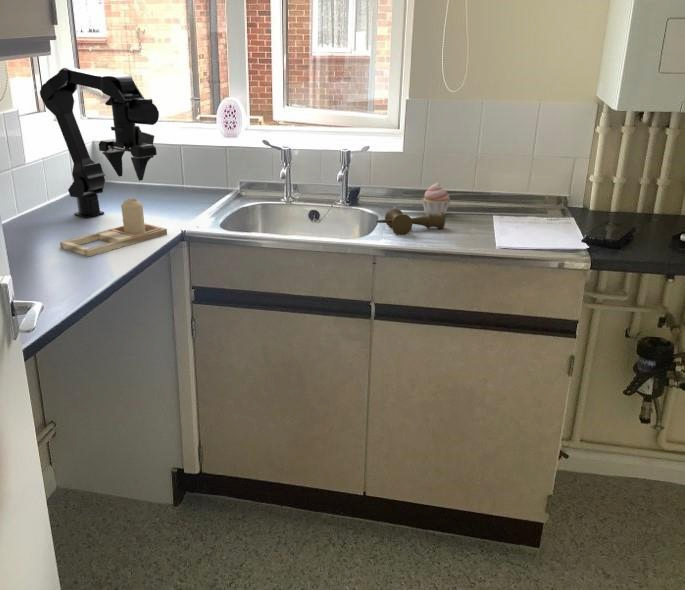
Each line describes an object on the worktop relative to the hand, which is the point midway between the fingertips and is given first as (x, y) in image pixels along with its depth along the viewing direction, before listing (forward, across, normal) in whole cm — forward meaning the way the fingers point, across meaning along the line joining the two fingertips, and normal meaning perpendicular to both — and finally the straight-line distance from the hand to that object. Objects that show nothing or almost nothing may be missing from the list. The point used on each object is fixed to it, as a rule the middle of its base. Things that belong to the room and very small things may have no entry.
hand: (130, 178), depth 192 cm
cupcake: (+13, -66, -62) cm, 92 cm away
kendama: (+14, -68, -43) cm, 82 cm away
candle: (+13, -11, +8) cm, 19 cm away
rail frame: (+13, -11, +15) cm, 23 cm away
